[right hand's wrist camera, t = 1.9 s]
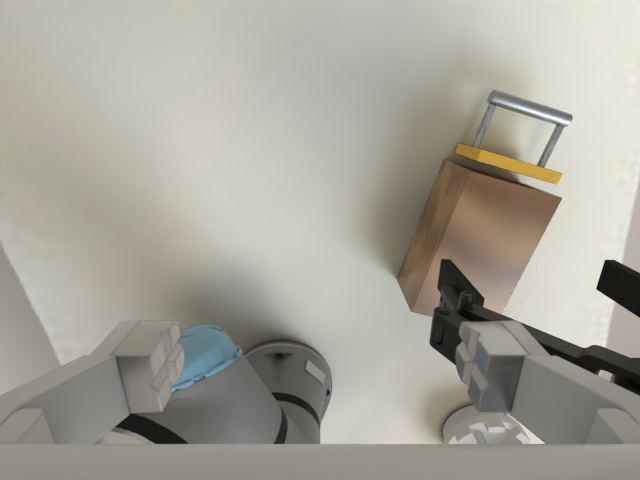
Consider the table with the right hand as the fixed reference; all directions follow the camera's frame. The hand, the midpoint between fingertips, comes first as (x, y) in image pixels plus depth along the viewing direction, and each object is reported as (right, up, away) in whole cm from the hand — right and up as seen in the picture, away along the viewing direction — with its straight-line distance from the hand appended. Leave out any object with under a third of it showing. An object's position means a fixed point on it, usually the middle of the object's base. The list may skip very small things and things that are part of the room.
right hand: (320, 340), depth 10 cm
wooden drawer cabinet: (+18, +4, +37) cm, 42 cm away
